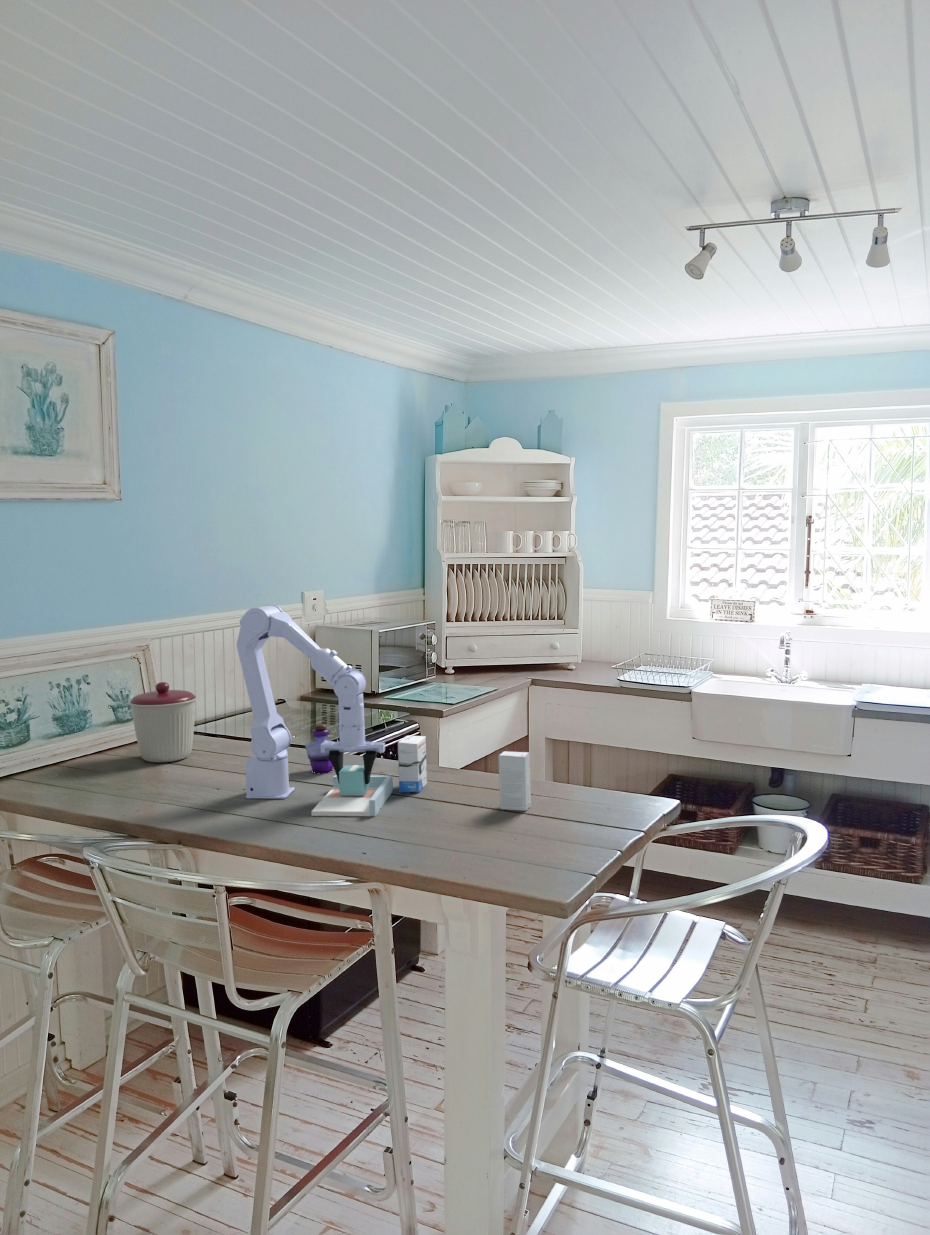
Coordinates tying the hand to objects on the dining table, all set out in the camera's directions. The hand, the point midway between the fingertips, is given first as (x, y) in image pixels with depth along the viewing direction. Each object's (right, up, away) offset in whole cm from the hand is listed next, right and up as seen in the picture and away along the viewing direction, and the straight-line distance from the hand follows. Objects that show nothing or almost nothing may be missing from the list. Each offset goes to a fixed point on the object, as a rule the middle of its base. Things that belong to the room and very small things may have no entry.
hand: (354, 783), depth 221 cm
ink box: (+13, -3, +7) cm, 15 cm away
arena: (0, -4, -3) cm, 4 cm away
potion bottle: (-11, -1, +25) cm, 27 cm away
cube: (0, -2, 0) cm, 2 cm away
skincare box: (+36, -4, -11) cm, 38 cm away
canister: (-56, -1, +43) cm, 71 cm away
